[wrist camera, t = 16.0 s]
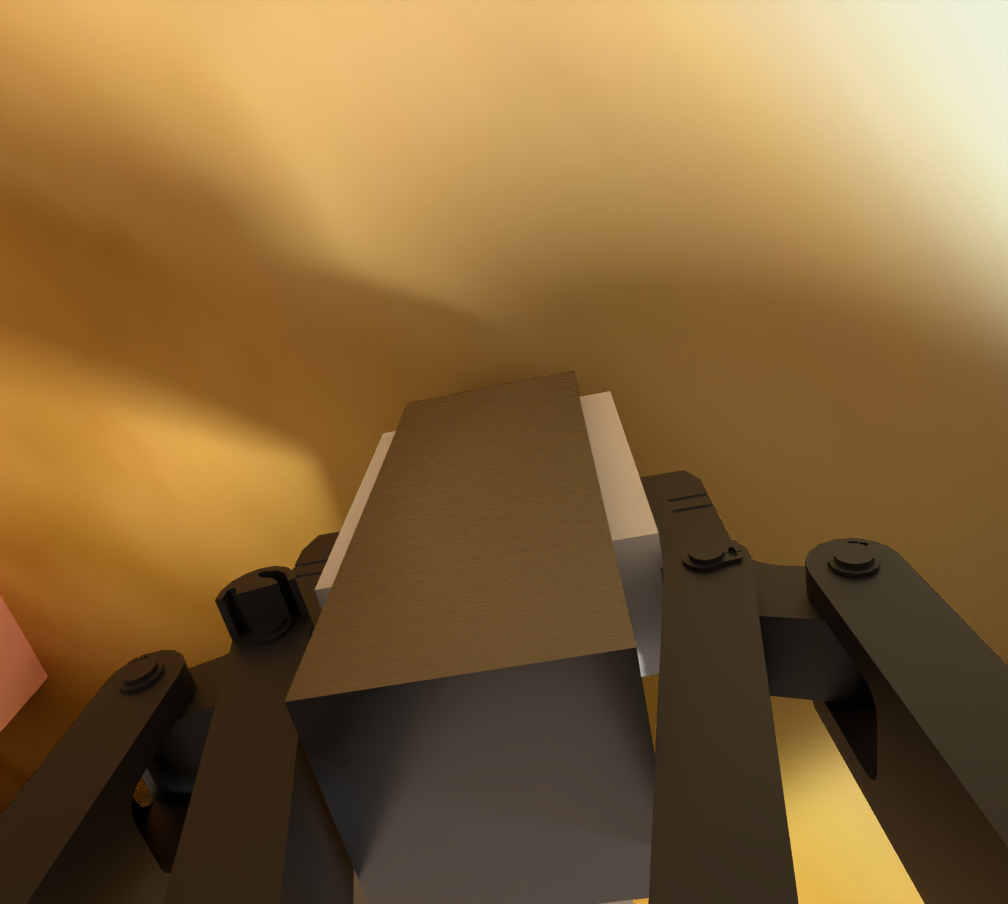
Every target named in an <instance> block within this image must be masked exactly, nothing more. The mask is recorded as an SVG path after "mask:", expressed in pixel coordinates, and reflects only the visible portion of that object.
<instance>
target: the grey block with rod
mask: <svg viewBox="0 0 1008 904" xmlns="http://www.w3.org/2000/svg"><path fill="white" fill-rule="evenodd" d="M285 705H286V707H287V709H288V712H289V714H290V717H291V719H292V721H293V724H294V726H295V728H296V731H297V733H298V736H299V738H300V740H301V743H302V745H303V748H304V750H305V752H306V755H307V757H308V760H309V762H310V764H311V767H312V769H313V772H314V774H315V776H316V779H317V781H318V784H319V786H320V788H321V791H322V793H323V795H324V798H325V800H326V803H327V805H328V807H329V810H330V812H331V815H332V817H333V819H334V822H335V824H336V827H337V829H338V831H339V834H340V836H341V839H342V841H343V843H344V846H345V848H346V850H347V853H348V855H349V858H350V860H351V862H352V865H353V867H354V870H355V872H356V874H357V877H358V879H359V882H360V884H361V886H362V889H363V891H364V894H365V896H366V898H367V901H368V903H369V904H636V899H643V898H649V884H650V862H651V840H652V818H653V796H654V774H655V754H654V748H653V742H652V737H651V731H650V725H649V719H648V713H647V707H646V701H645V695H644V689H643V683H642V678H641V672H640V666H639V660H638V654H637V648H636V643H635V639H634V635H633V630H632V626H631V622H630V617H629V613H628V608H627V604H626V600H625V595H624V591H623V586H622V582H621V578H620V573H619V569H618V564H617V560H616V556H615V551H614V547H613V542H612V538H611V534H610V529H609V525H608V520H607V516H606V512H605V507H604V503H603V498H602V494H601V490H600V485H599V481H598V476H597V472H596V468H595V463H594V459H593V455H592V450H591V446H590V441H589V437H588V433H587V428H586V424H585V419H584V415H583V411H582V406H581V402H580V397H579V393H578V389H577V384H576V380H575V375H574V371H570V372H565V373H560V374H555V375H550V376H544V377H539V378H534V379H529V380H524V381H519V382H513V383H508V384H503V385H498V386H493V387H488V388H482V389H477V390H472V391H467V392H462V393H457V394H451V395H446V396H441V397H436V398H431V399H426V400H420V401H415V402H410V403H407V405H406V408H405V410H404V413H403V415H402V417H401V420H400V422H399V425H398V427H397V430H396V432H395V434H394V437H393V439H392V442H391V444H390V447H389V449H388V451H387V454H386V456H385V459H384V461H383V464H382V466H381V468H380V471H379V473H378V476H377V478H376V481H375V483H374V485H373V488H372V490H371V493H370V495H369V498H368V500H367V502H366V505H365V507H364V510H363V512H362V515H361V517H360V519H359V522H358V524H357V527H356V529H355V532H354V534H353V536H352V539H351V541H350V544H349V546H348V549H347V551H346V553H345V556H344V558H343V561H342V563H341V566H340V568H339V570H338V573H337V575H336V578H335V580H334V583H333V585H332V587H331V590H330V592H329V595H328V597H327V600H326V602H325V604H324V607H323V609H322V612H321V614H320V617H319V619H318V621H317V624H316V626H315V629H314V631H313V634H312V636H311V638H310V641H309V643H308V646H307V648H306V651H305V653H304V655H303V658H302V660H301V663H300V665H299V668H298V670H297V672H296V675H295V677H294V680H293V682H292V685H291V687H290V689H289V692H288V694H287V697H286V699H285Z"/></svg>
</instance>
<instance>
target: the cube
mask: <svg viewBox="0 0 1008 904" xmlns="http://www.w3.org/2000/svg"><path fill="white" fill-rule="evenodd" d="M47 678H48V675H47V673H46V672H45V670H44V668H43V667H42V665H41V663H40V661H39V660H38V658H37V656H36V655H35V653H34V651H33V649H32V648H31V646H30V644H29V643H28V641H27V639H26V638H25V636H24V634H23V632H22V631H21V629H20V627H19V626H18V624H17V622H16V620H15V619H14V617H13V615H12V614H11V612H10V610H9V608H8V607H7V605H6V603H5V602H4V600H3V598H2V596H1V595H0V732H1V731H2V730H3V729H4V728H5V726H6V725H7V724H8V723H9V722H10V721H11V719H12V718H13V717H14V716H15V715H16V714H17V713H18V711H19V710H20V709H21V708H22V707H23V706H24V704H25V703H26V702H27V701H28V700H29V699H30V698H31V696H32V695H33V694H34V693H35V692H36V691H37V690H38V688H39V687H40V686H41V685H42V684H43V683H44V681H45V680H46V679H47Z"/></svg>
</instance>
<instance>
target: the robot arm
mask: <svg viewBox="0 0 1008 904" xmlns="http://www.w3.org/2000/svg"><path fill="white" fill-rule="evenodd" d="M580 402H581V406H582V411H583V415H584V419H585V424H586V428H587V433H588V437H589V441H590V446H591V450H592V455H593V459H594V463H595V468H596V472H597V476H598V481H599V485H600V490H601V494H602V498H603V503H604V507H605V512H606V516H607V520H608V525H609V529H610V534H611V538H612V542H613V547H614V551H615V556H616V560H617V564H618V569H619V573H620V578H621V582H622V586H623V591H624V595H625V600H626V604H627V608H628V613H629V617H630V622H631V626H632V630H633V635H634V639H635V643H636V648H637V654H638V660H639V666H640V672H641V677H644V676H651V675H657V674H659V687H658V709H657V730H656V752H655V774H654V796H653V818H652V840H651V862H650V884H649V904H799V903H798V896H797V889H796V881H795V874H794V867H793V860H792V852H791V845H790V838H789V831H788V823H787V816H786V809H785V802H784V794H783V787H782V780H781V773H780V765H779V758H778V751H777V744H776V736H775V729H774V722H773V715H772V707H771V700H770V696H779V697H789V698H799V699H809V700H813V703H814V707H815V709H816V711H817V713H818V714H819V716H820V718H821V720H822V722H823V723H824V725H825V727H826V729H827V730H828V732H829V734H830V736H831V738H832V739H833V741H834V743H835V745H836V746H837V748H838V750H839V752H840V754H841V755H842V757H843V759H844V761H845V763H846V764H847V766H848V768H849V770H850V771H851V773H852V775H853V777H854V779H855V780H856V782H857V784H858V786H859V787H860V789H861V791H862V793H863V795H864V796H865V798H866V800H867V802H868V803H869V805H870V807H871V809H872V811H873V812H874V814H875V816H876V818H877V819H878V821H879V823H880V825H881V827H882V828H883V830H884V832H885V834H886V835H887V837H888V839H889V841H890V843H891V844H892V846H893V848H894V850H895V851H896V853H897V855H898V857H899V859H900V860H901V862H902V864H903V866H904V868H905V869H906V871H907V873H908V875H909V876H910V878H911V880H912V882H913V884H914V885H915V887H916V889H917V891H918V892H919V894H920V896H921V898H922V900H923V901H924V903H925V904H1008V666H1007V665H1006V664H1005V663H1004V662H1003V661H1002V660H1001V659H1000V658H999V657H998V656H997V655H996V654H995V653H994V652H993V651H992V650H991V648H990V647H989V646H988V645H987V644H986V643H985V642H984V641H983V640H982V639H981V638H980V637H979V636H978V635H977V634H976V633H975V632H974V631H973V630H972V629H971V628H970V627H969V626H968V625H967V624H966V623H965V622H964V621H963V619H962V618H961V617H960V616H959V615H958V614H957V613H956V612H955V611H954V610H953V609H952V608H951V607H950V606H949V605H948V604H947V603H946V602H945V601H944V600H943V599H942V598H941V597H940V596H939V595H938V594H937V593H936V592H935V591H934V589H933V588H932V587H931V586H930V585H929V584H928V583H927V582H926V581H925V580H924V579H923V578H922V577H921V576H920V575H919V574H918V573H917V572H916V571H915V570H914V569H913V568H912V567H911V566H910V565H909V564H908V563H907V562H906V560H905V559H904V558H903V557H902V556H901V555H900V554H898V553H897V552H895V551H894V550H892V549H891V548H890V547H888V546H886V545H883V544H880V543H877V542H874V541H870V540H864V539H854V538H848V539H838V540H832V541H829V542H826V543H822V544H819V545H818V546H816V547H815V548H814V549H812V550H811V551H809V553H808V555H807V558H806V560H805V567H801V566H779V565H769V564H765V563H761V562H757V561H755V560H752V559H751V557H750V555H749V553H748V551H747V549H746V548H745V547H744V546H742V545H741V544H739V543H738V542H736V541H733V540H731V539H730V537H729V535H728V533H727V531H726V529H725V527H724V525H723V523H722V521H721V519H720V518H719V516H718V514H717V512H716V510H715V508H714V506H713V504H712V502H711V500H710V498H709V496H708V495H707V492H706V490H705V488H704V486H703V484H702V482H701V480H700V479H698V478H696V477H695V476H693V475H691V474H690V473H688V472H686V471H685V470H683V471H677V472H671V473H665V474H660V475H654V476H648V477H642V478H640V477H639V474H638V471H637V468H636V465H635V462H634V459H633V456H632V453H631V451H630V448H629V445H628V442H627V439H626V436H625V433H624V430H623V427H622V424H621V421H620V418H619V415H618V412H617V409H616V407H615V404H614V401H613V398H612V395H611V392H610V391H608V392H602V393H597V394H591V395H586V396H581V397H580ZM395 432H396V431H393V432H387V433H383V435H382V437H381V439H380V442H379V444H378V446H377V449H376V451H375V453H374V455H373V458H372V460H371V462H370V465H369V467H368V469H367V471H366V474H365V476H364V478H363V481H362V483H361V485H360V487H359V490H358V492H357V494H356V496H355V499H354V501H353V503H352V506H351V508H350V510H349V512H348V515H347V517H346V519H345V522H344V524H343V526H342V528H341V531H340V532H336V533H330V534H324V535H319V536H318V537H316V538H315V539H314V540H313V541H312V542H311V543H310V544H309V545H308V546H307V547H305V548H304V549H303V550H302V552H301V554H300V556H299V558H298V560H297V562H296V564H295V568H293V570H290V569H289V568H287V567H279V566H273V567H267V568H261V569H258V570H255V571H253V572H250V573H247V574H245V575H243V576H241V577H239V578H238V579H236V580H234V581H232V582H231V583H230V584H228V585H227V586H226V587H225V588H224V589H223V590H221V592H220V593H219V595H218V596H217V598H216V599H215V602H216V604H217V606H218V608H219V611H220V613H221V615H222V618H223V620H224V622H225V624H226V627H227V629H228V631H229V634H230V636H231V638H232V640H233V641H232V645H231V649H230V653H229V654H226V655H224V656H222V657H219V658H217V659H214V660H211V661H208V662H206V663H203V664H200V665H197V666H195V667H192V668H188V666H187V664H186V661H185V659H184V657H183V655H182V654H180V653H178V652H176V651H175V650H161V651H157V652H153V653H148V654H145V655H142V656H140V657H139V658H138V657H137V658H135V659H133V660H131V661H130V662H128V664H126V665H125V666H123V667H122V668H120V669H119V670H117V671H116V672H115V673H114V674H113V675H112V676H111V677H110V678H109V679H108V680H107V681H106V682H105V683H104V685H103V686H102V687H101V688H100V690H99V691H98V692H97V693H96V695H95V696H94V697H93V699H92V700H91V701H90V702H89V704H88V705H87V706H86V707H85V709H84V710H83V711H82V713H81V714H80V715H79V716H78V718H77V719H76V720H75V721H74V723H73V724H72V725H71V727H70V728H69V729H68V730H67V732H66V733H65V734H64V736H63V737H62V738H61V739H60V741H59V742H58V743H57V744H56V746H55V747H54V748H53V750H52V751H51V752H50V753H49V755H48V756H47V757H46V758H45V760H44V761H43V762H42V764H41V765H40V766H39V767H38V769H37V770H36V771H35V772H34V774H33V775H32V776H31V778H30V779H29V780H28V781H27V783H26V784H25V785H24V787H23V788H22V789H21V790H20V792H19V793H18V794H17V795H16V797H15V798H14V799H13V801H12V802H11V803H10V804H9V806H8V807H7V808H6V809H5V811H4V812H3V813H2V815H1V816H0V904H353V897H354V867H353V865H352V862H351V860H350V858H349V855H348V853H347V850H346V848H345V846H344V843H343V841H342V839H341V836H340V834H339V831H338V829H337V827H336V824H335V822H334V819H333V817H332V815H331V812H330V810H329V807H328V805H327V803H326V800H325V798H324V795H323V793H322V791H321V788H320V786H319V784H318V781H317V779H316V776H315V774H314V772H313V769H312V767H311V764H310V762H309V760H308V757H307V755H306V752H305V750H304V748H303V745H302V743H301V740H300V738H299V736H298V733H297V731H296V728H295V726H294V724H293V721H292V719H291V717H290V714H289V712H288V709H287V707H286V705H285V699H286V697H287V694H288V692H289V689H290V687H291V685H292V682H293V680H294V677H295V675H296V672H297V670H298V668H299V665H300V663H301V660H302V658H303V655H304V653H305V651H306V648H307V646H308V643H309V641H310V638H311V636H312V634H313V631H314V629H315V626H316V624H317V621H318V619H319V617H320V614H321V612H322V609H323V607H324V604H325V602H326V600H327V597H328V595H329V592H330V590H331V587H332V585H333V583H334V580H335V578H336V575H337V573H338V570H339V568H340V566H341V563H342V561H343V558H344V556H345V553H346V551H347V549H348V546H349V544H350V541H351V539H352V536H353V534H354V532H355V529H356V527H357V524H358V522H359V519H360V517H361V515H362V512H363V510H364V507H365V505H366V502H367V500H368V498H369V495H370V493H371V490H372V488H373V485H374V483H375V481H376V478H377V476H378V473H379V471H380V468H381V466H382V464H383V461H384V459H385V456H386V454H387V451H388V449H389V447H390V444H391V442H392V439H393V437H394V434H395ZM141 777H142V778H143V780H144V782H145V784H146V786H147V787H148V789H149V791H148V793H147V794H146V796H145V798H144V800H143V801H142V802H141V803H140V804H138V803H137V802H136V801H135V799H134V798H133V793H134V791H135V788H136V786H137V783H138V782H139V780H140V779H141Z"/></svg>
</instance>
